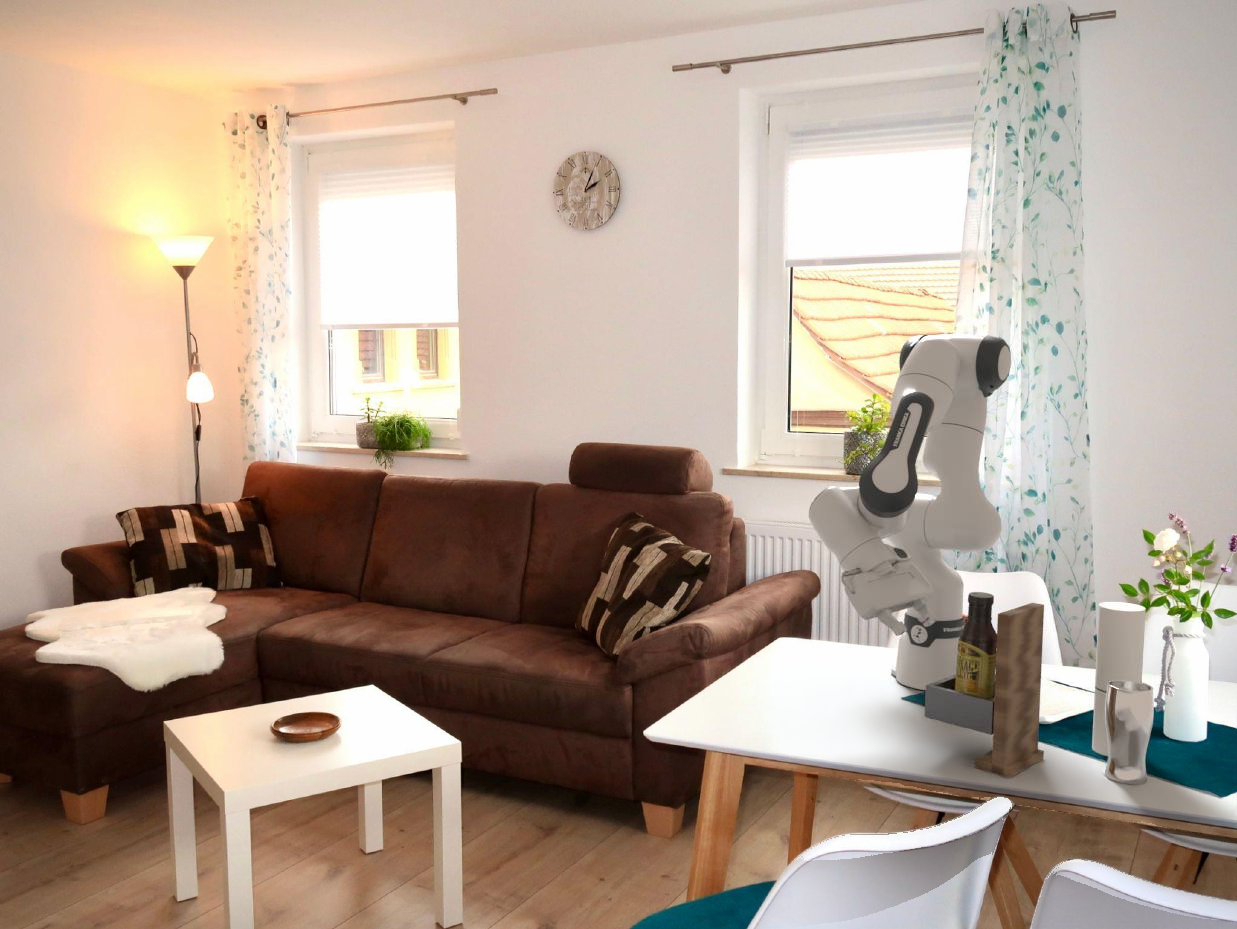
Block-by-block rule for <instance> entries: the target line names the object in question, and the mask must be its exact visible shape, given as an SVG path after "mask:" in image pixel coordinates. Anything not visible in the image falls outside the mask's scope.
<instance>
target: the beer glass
mask: <svg viewBox="0 0 1237 929" xmlns="http://www.w3.org/2000/svg"><path fill="white" fill-rule="evenodd" d="M1154 700H1155V699H1154V687H1153V686H1152V685H1150V684H1148V683H1145V682H1143V681H1142V682H1138V681H1132V680H1112V681H1109V682H1108V686H1107V693H1106V701H1105V725H1106V732H1107V739H1108V747H1109V754H1108V756H1107V761H1106V762H1107V763H1106V765H1105V770H1104V775H1105V776H1106V779H1109V780H1111V781H1114V782H1116V783H1120V784H1125V785H1133V786H1134V785H1137V786H1138V785H1144V784H1145V783H1147V781H1148V774H1147V768H1146V767H1147V766H1146V754H1147V749H1148V745H1149V742H1150V737H1151V733H1152V730H1153V729H1152V728H1153V725H1154V713H1155V712H1154V710H1155V709H1154V707H1155V705H1154V702H1155V701H1154Z"/></svg>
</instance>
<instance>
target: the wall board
mask: <svg viewBox="0 0 1237 929" xmlns="http://www.w3.org/2000/svg"><path fill="white" fill-rule="evenodd" d="M1044 614H1045V604H1043V603H1036V602H1030V603H1028V604H1024V605H1022V606H1021V605H1020V606H1018V607H1015V608H1013V609H1009V610H1004V611H1002V612H1000V613H997V625H996V626H997V627H996V633H997V648H996V671H995V700H994V725H993V735H992V750H990V751H988V752H985V753H984V754H981V755H979V756H978V757H976V758H974V762H973V763H974V764H973V768H974V769H977V770H980V771H983V772H987V773H990V774H994V775H998V776H1000V777H1004V778H1008V779H1010V778H1013V777H1014V776H1016V775H1018V774H1019V773H1021V772H1024V771H1025V770H1028V769H1029V768H1031V767H1032V766H1035V765H1037V764H1038V763H1040V762H1041V761H1044V757H1045V756H1044V754H1045V751H1044V750H1042V749H1039V729H1040V711H1041V710H1040V709H1041V708H1040V706H1041V689H1042V687H1041V686H1042V663H1043V662H1042V660H1043V638H1044V637H1043V636H1044V619H1045V618H1044Z"/></svg>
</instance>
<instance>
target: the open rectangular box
mask: <svg viewBox="0 0 1237 929" xmlns="http://www.w3.org/2000/svg"><path fill="white" fill-rule="evenodd" d="M955 682H956V674H955V675H952V676H949V677H947V678H944V679H941V680H939V681H936V682H934V683H931V684H928V685H926V690H925V693H924V694H925V696H924V718H926V719H930V720H933V721H937V722H941V723H944V724H948V725H952V726H955V727H960V728H962V729H963V728H964V729H967V730H971V731H974V732H978V733H983V734H987V735H989V736H993V725H994V700H995V686H994V698H991V699H988V698H984V697H979V696H975V695H971V694H967V693H963V692H959V691H955Z"/></svg>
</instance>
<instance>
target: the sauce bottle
mask: <svg viewBox="0 0 1237 929" xmlns="http://www.w3.org/2000/svg"><path fill="white" fill-rule="evenodd" d="M994 597H995V596H994V595H993V594H991V593H989V592H983V591H972V592H969V593H968V596H967V602H968V610H967V611H968V613H967V615H968V618H967V620H966V623H965V625H964V628H963V630H962V633H961V635H960V638H959V640H958V654H957V667H956V682H955V691H959V692H963V693H967V694H971V695H975V696H979V697H984V698H988V699H991V698H994V686H995V674H996V649H997V630H995V628H994V626H993V623H992V620H993V618H992V613H993V610H992V609H993V605H994V602H995V601H994V600H995V598H994Z"/></svg>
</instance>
